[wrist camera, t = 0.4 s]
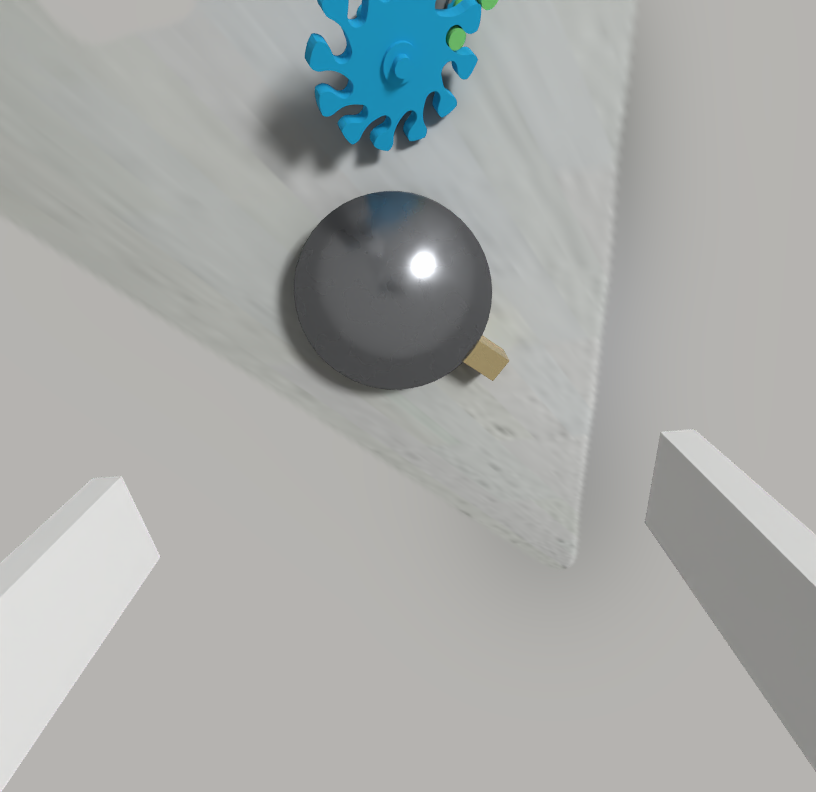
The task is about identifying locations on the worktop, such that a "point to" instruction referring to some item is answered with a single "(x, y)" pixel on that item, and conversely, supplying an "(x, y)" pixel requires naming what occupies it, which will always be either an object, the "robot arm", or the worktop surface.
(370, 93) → the gear
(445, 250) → the dark grey frying pan
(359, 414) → the worktop surface
